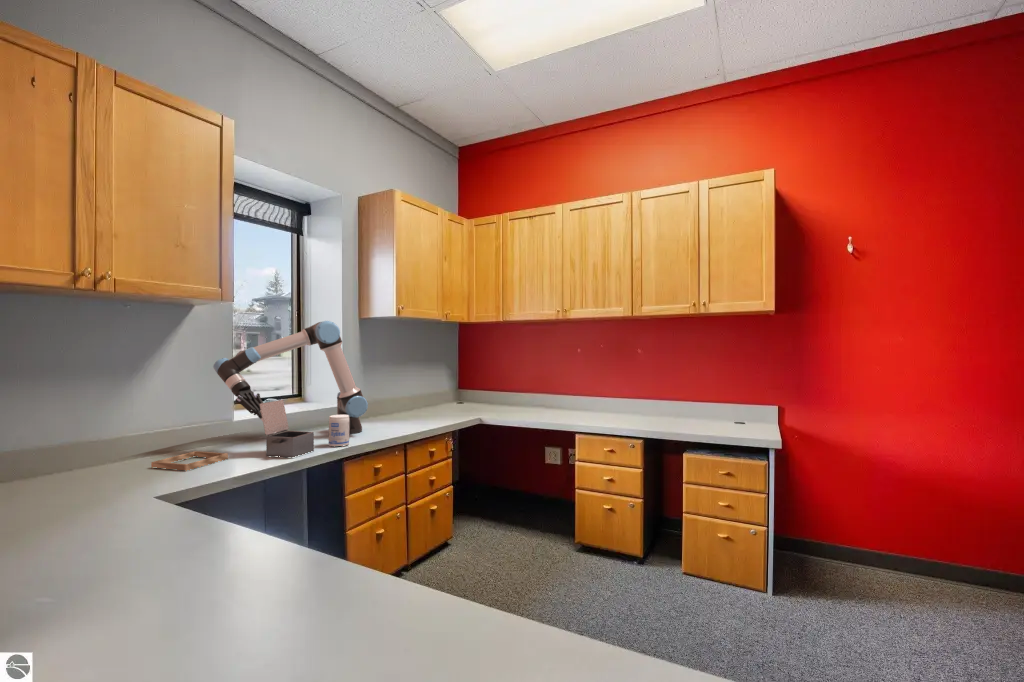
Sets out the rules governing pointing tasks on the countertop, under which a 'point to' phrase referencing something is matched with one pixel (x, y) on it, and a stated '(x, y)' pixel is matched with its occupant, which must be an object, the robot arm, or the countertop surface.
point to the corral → (210, 459)
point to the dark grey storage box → (289, 443)
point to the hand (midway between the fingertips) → (268, 422)
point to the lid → (274, 417)
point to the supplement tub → (338, 430)
